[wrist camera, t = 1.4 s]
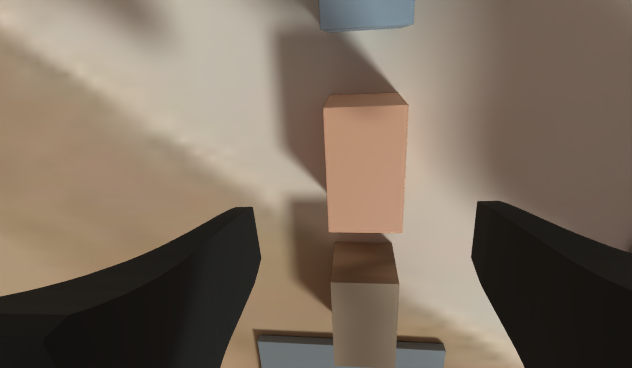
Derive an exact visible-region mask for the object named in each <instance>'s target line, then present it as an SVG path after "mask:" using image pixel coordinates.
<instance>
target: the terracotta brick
mask: <svg viewBox="0 0 632 368" xmlns="http://www.w3.org/2000/svg"><path fill="white" fill-rule="evenodd" d="M408 107H409V105H408V104H407V102H406V101H405V100H404V99H403V98H402V97H401V96H400V94H399V93H398V92H396V93H372V94H347V95H329V97H328V99H327V101H326V103H325V105H324V107H323V116H324V138H325V160H326V182H327V203H328V225H329V232H345V233H402V230H403V210H404V189H405V169H406V148H407V127H408Z"/></svg>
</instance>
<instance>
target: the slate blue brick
mask: <svg viewBox="0 0 632 368" xmlns="http://www.w3.org/2000/svg"><path fill="white" fill-rule="evenodd" d="M414 3H415V0H319V9H320V30H323V31H325V32H345V31H362V30H379V29H395V28H403V27H406V26H409V25H412V24H413V22H414Z"/></svg>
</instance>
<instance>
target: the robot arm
mask: <svg viewBox="0 0 632 368" xmlns="http://www.w3.org/2000/svg"><path fill="white" fill-rule="evenodd" d="M471 258H472V261H473V264H474V267H475V270H476V273H477V275H478V278H479V281H480V283H481V286H482V287H483V289H484V291H485V293H486V295H487V297H488V299H489V301H490V303H491V304H492V306H493V308H494V310H495V312H496V314H497V316H498V317H499V319H500V321H501V323H502V325H503V327H504V328H505V330H506V332H507V334H508V336H509V338H510V339H511V341H512V343H513V345H514V347H515V349H516V351H517V353H518V355H519V357H520V359H521V361H522V363H523V365H524V367H525V368H632V254H631V253H628V252H625V251H622V250H619V249H616V248H613V247H610V246H607V245H604V244H602V243H599V242H597V241H594V240H591V239H589V238H586V237H584V236H581V235H579V234H576V233H574V232H571V231H569V230H567V229H564V228H562V227H560V226H557V225H555V224H553V223H551V222H548V221H546V220H544V219H542V218H539V217H537V216H535V215H533V214H530V213H528V212H526V211H524V210H521V209H519V208H517V207H514V206H512V205H509V204H507V203H504V202H501V201H477V210H476V219H475V228H474V237H473V245H472V254H471ZM260 261H261V254H260V248H259V242H258V236H257V230H256V223H255V217H254V211H253V207H235V208H232V209H230V210H228V211H226V212H224V213H222V214H220V215H218V216H216V217H215V218H213V219H211V220H209V221H208V222H206V223H204V224H202V225H200V226H199V227H197V228H195V229H193V230H192V231H190V232H188V233H186V234H184V235H182V236H180V237H178V238H176V239H174V240H172V241H171V242H169V243H167V244H165V245H163V246H161V247H159V248H156V249H154V250H152V251H150V252H148V253H145V254H143V255H140V256H138V257H136V258H133V259H131V260H128V261H126V262H123V263H120V264H117V265H114V266H112V267H109V268H106V269H103V270H100V271H97V272H94V273H91V274H88V275H85V276H82V277H78V278H75V279H72V280H68V281H65V282H61V283H57V284H53V285H50V286H46V287H42V288H38V289H34V290H29V291H25V292H20V293H15V294H11V295H6V296H1V297H0V368H220V366H221V363H222V360H223V357H224V354H225V351H226V349H227V346H228V344H229V341H230V339H231V336H232V334H233V332H234V330H235V327H236V325H237V323H238V320H239V318H240V316H241V314H242V311H243V309H244V307H245V305H246V302H247V300H248V298H249V295H250V293H251V291H252V288H253V286H254V283H255V280H256V276H257V273H258V269H259V265H260Z"/></svg>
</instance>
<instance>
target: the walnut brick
mask: <svg viewBox="0 0 632 368" xmlns="http://www.w3.org/2000/svg"><path fill="white" fill-rule="evenodd" d="M330 283H331V304H332V325H333V347H334V366H351V367H369V368H395V362H396V341H397V320H398V299H399V280H398V275H397V269H396V264H395V258H394V253H393V247H392V243H355V242H335V244H334V254H333V263H332V273H331V282H330Z"/></svg>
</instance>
